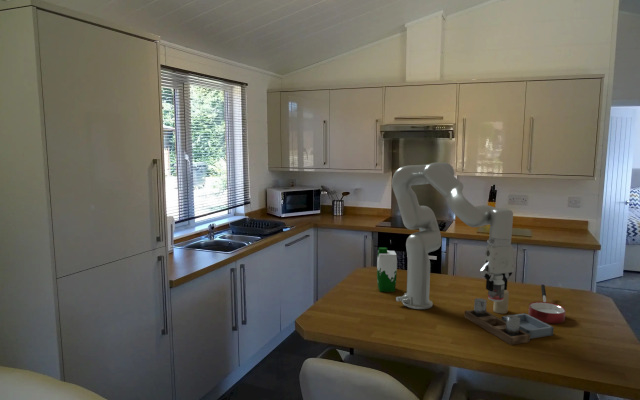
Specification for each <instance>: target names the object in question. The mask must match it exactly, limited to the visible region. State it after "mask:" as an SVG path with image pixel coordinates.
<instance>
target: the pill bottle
mask: <svg viewBox="0 0 640 400" xmlns="http://www.w3.org/2000/svg"><path fill="white" fill-rule="evenodd" d="M502 279H503V275H502V274H494V277H493V280H492V281H493V282H494V284H493V291H492V292H491V291H489V290H487V291H488V293H487V299H488V300H490V301H491V302H494V301H495V302H501V301H503V298H504V284H505V282H504V281H503V280H502Z"/></svg>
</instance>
